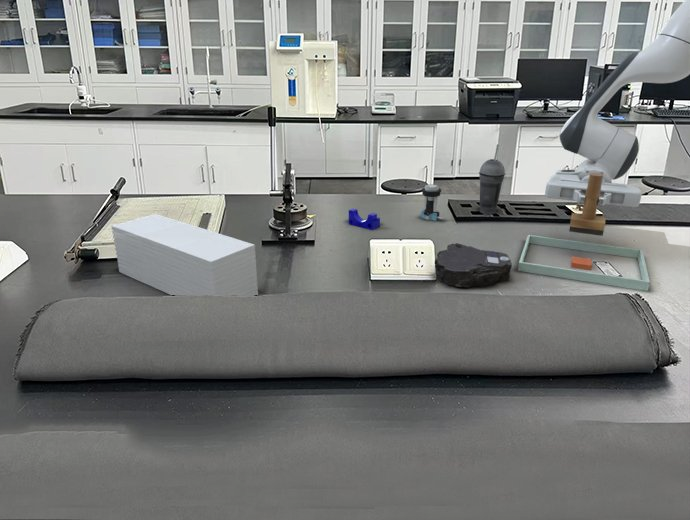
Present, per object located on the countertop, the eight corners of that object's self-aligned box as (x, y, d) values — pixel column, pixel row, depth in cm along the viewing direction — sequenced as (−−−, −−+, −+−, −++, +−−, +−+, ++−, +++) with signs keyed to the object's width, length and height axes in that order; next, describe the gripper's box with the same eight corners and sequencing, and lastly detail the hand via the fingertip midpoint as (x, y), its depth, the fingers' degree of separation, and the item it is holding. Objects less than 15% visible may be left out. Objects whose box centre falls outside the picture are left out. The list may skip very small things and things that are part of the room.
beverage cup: (491, 207, 161) (499, 140, 153) (505, 214, 155) (514, 145, 147) (470, 209, 159) (477, 142, 151) (483, 216, 153) (491, 146, 145)
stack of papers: (119, 272, 116) (111, 225, 112) (161, 257, 124) (155, 213, 119) (216, 315, 98) (210, 261, 94) (258, 295, 106) (254, 244, 102)
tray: (639, 260, 123) (642, 249, 122) (647, 293, 107) (650, 282, 106) (526, 244, 132) (527, 234, 131) (517, 273, 116) (518, 262, 115)
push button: (446, 221, 149) (449, 186, 145) (437, 225, 145) (440, 190, 141) (425, 216, 153) (428, 182, 149) (416, 221, 149) (418, 186, 145)
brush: (602, 229, 122) (613, 173, 117) (602, 235, 118) (614, 178, 113) (569, 224, 125) (579, 170, 119) (568, 231, 120) (579, 175, 115)
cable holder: (379, 226, 144) (380, 212, 143) (372, 230, 142) (372, 215, 140) (356, 220, 149) (356, 207, 147) (348, 224, 146) (348, 210, 145)
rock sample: (465, 299, 104) (467, 276, 102) (414, 271, 116) (415, 250, 115) (525, 279, 113) (528, 258, 111) (472, 255, 125) (474, 236, 123)
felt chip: (590, 263, 119) (591, 259, 119) (590, 270, 116) (591, 265, 115) (571, 261, 121) (572, 256, 120) (570, 267, 117) (571, 262, 117)
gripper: (636, 203, 127) (640, 220, 115) (546, 193, 134) (541, 209, 122) (642, 177, 124) (647, 192, 113) (550, 169, 132) (545, 182, 120)
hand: (591, 200), depth 118 cm, fingers closed on brush, 3 cm apart
